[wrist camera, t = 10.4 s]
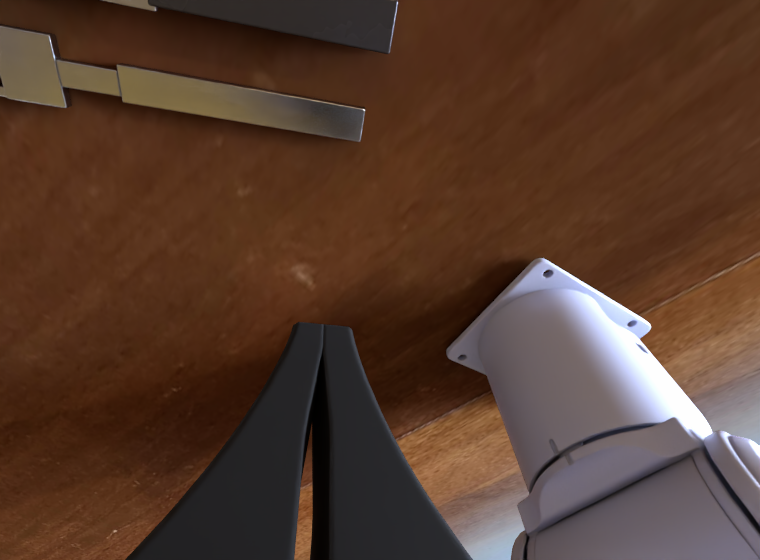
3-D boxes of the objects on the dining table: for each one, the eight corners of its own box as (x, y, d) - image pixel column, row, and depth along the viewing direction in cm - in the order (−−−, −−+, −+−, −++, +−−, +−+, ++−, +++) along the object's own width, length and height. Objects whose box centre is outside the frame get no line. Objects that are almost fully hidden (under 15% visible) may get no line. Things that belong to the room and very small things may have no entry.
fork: (367, 92, 16) (367, 94, 16) (358, 152, 17) (358, 155, 17) (-113, 2, 13) (-125, 2, 13) (-80, 81, 15) (-89, 83, 14)
